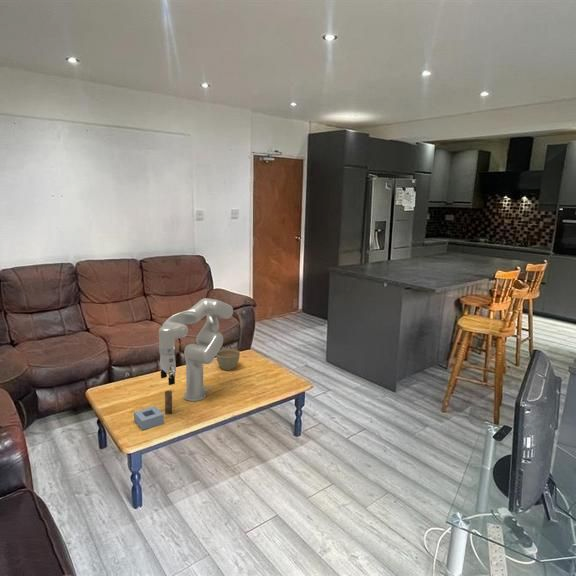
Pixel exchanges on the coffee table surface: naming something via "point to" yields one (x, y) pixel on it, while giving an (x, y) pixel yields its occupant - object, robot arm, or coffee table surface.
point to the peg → (168, 402)
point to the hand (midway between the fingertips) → (167, 381)
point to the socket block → (148, 417)
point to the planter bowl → (228, 358)
